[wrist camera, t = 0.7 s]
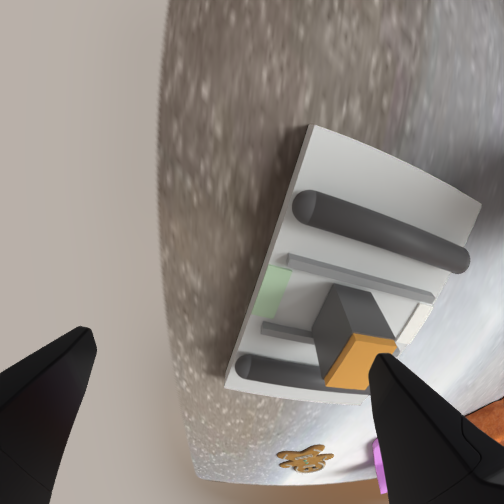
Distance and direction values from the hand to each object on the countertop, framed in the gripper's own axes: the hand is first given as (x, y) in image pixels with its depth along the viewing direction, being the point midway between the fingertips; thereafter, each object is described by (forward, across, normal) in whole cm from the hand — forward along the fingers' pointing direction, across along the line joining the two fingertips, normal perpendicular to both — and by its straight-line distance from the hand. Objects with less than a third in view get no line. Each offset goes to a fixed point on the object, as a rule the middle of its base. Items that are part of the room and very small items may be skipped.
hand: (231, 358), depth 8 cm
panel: (+13, -8, +6) cm, 16 cm away
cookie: (+13, -12, +36) cm, 40 cm away
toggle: (+10, -7, +5) cm, 14 cm away
